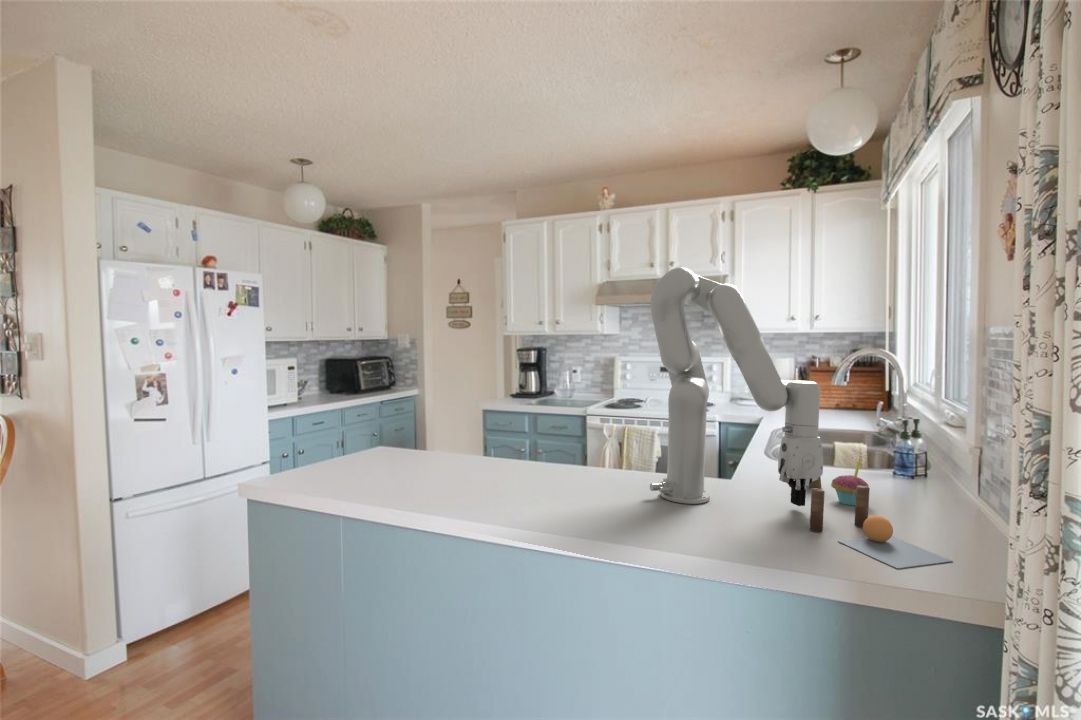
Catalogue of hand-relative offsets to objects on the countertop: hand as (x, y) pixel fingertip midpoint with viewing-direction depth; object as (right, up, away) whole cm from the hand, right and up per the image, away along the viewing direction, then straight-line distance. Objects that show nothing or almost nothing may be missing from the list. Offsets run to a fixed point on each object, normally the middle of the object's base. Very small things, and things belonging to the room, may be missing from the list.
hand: (797, 504), depth 142 cm
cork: (+14, -1, +23) cm, 27 cm away
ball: (+8, 0, -20) cm, 22 cm away
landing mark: (+8, -3, -26) cm, 27 cm away
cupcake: (+17, -2, +7) cm, 18 cm away
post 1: (-2, -2, -14) cm, 15 cm away
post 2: (+10, -2, -10) cm, 15 cm away
